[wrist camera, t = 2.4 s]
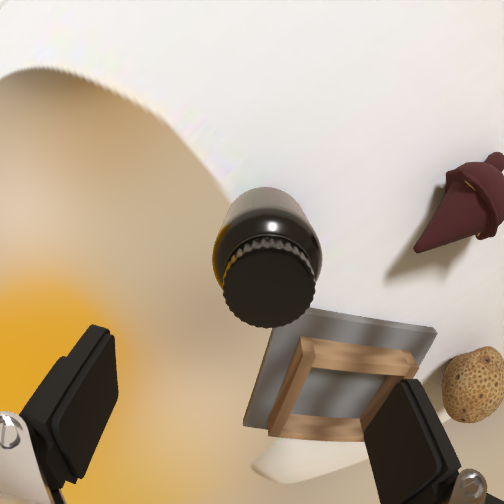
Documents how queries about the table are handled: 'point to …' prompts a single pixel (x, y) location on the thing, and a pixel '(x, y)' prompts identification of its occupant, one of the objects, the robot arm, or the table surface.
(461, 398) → the natural sponge
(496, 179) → the icecream
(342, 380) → the collar board
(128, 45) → the table surface
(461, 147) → the table surface
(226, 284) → the supplement bottle
